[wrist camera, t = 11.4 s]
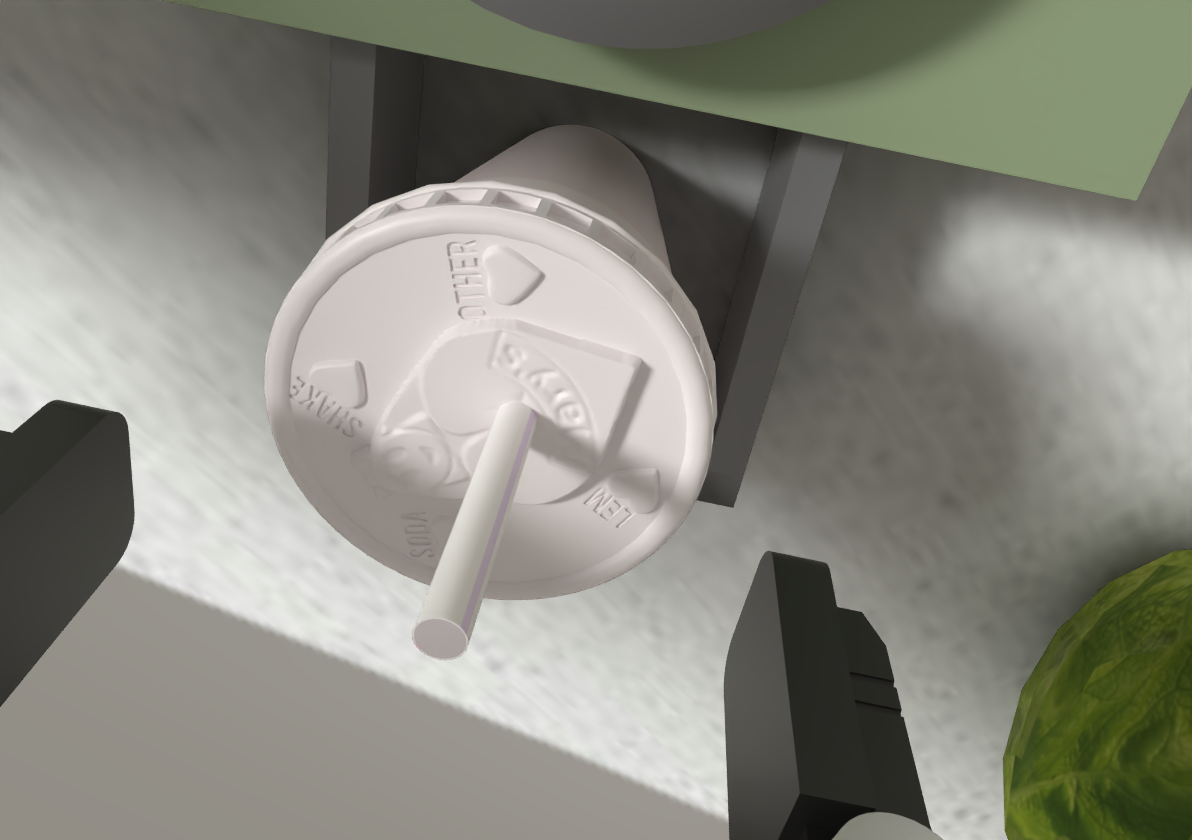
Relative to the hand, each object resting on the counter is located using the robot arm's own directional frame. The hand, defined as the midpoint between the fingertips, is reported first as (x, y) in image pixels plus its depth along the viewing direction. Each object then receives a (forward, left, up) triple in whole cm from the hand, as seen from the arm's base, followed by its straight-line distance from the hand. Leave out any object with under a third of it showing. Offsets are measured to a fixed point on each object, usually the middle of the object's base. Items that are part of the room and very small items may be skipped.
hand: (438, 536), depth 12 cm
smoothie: (0, +1, -12) cm, 12 cm away
